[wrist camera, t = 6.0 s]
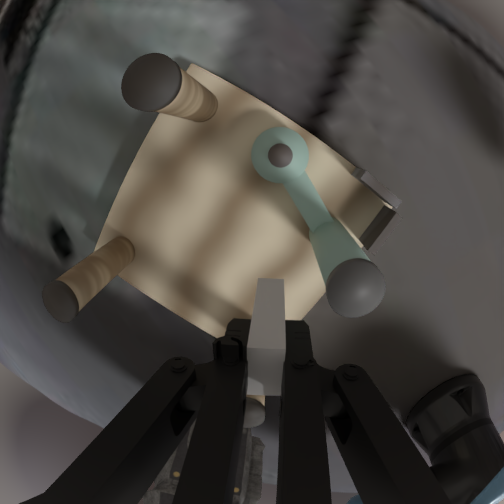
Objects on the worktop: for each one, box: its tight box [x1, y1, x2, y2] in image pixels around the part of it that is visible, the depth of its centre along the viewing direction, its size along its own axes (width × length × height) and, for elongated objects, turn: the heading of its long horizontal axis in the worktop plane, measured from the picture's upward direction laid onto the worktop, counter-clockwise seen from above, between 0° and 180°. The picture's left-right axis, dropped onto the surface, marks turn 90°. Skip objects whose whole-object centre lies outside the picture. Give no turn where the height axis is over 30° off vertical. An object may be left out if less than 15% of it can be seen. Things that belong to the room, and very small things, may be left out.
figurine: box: [142, 418, 265, 504], centre depth 27 cm, size 10×14×25 cm
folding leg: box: [251, 127, 386, 318], centre depth 19 cm, size 12×4×11 cm, turn 33°
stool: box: [42, 53, 403, 428], centre depth 22 cm, size 22×22×14 cm
